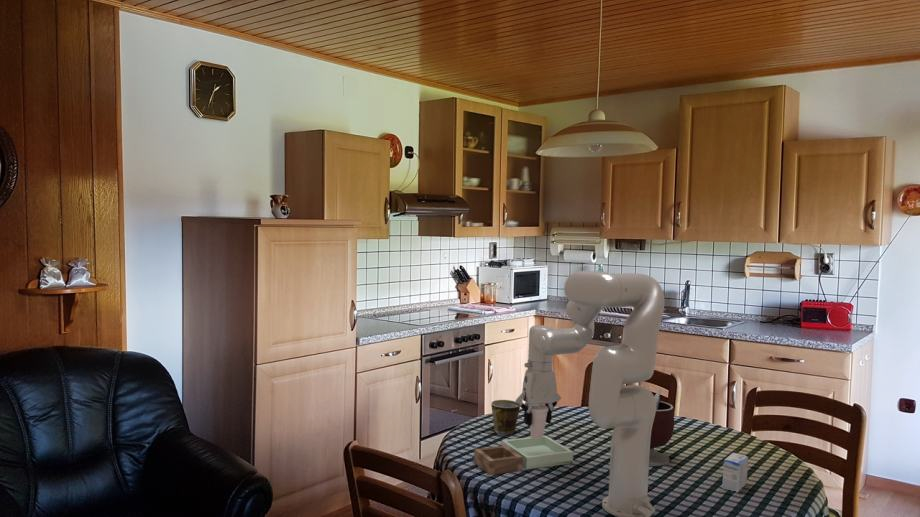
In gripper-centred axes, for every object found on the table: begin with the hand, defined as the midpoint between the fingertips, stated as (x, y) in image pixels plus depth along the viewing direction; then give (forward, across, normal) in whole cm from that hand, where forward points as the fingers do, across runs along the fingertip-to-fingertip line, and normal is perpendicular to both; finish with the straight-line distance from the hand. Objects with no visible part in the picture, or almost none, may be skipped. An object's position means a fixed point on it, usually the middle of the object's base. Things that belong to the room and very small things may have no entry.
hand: (537, 423), depth 199 cm
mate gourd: (+11, +34, -12) cm, 38 cm away
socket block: (+11, -15, -3) cm, 19 cm away
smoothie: (+5, 0, 0) cm, 5 cm away
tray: (+11, 0, 0) cm, 11 cm away
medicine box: (+11, +41, -39) cm, 58 cm away
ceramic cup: (+11, +1, +24) cm, 26 cm away
